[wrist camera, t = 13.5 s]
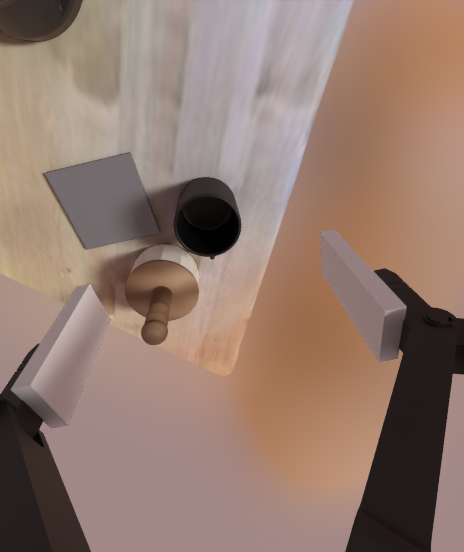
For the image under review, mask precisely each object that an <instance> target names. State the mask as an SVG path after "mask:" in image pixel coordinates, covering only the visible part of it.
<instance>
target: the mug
mask: <svg viewBox="0 0 464 552" xmlns="http://www.w3.org/2000/svg"><path fill="white" fill-rule="evenodd" d="M174 231H175V235H176V237H177V239H178V241H179V242H180V244H181V245H182V246H183V247H184V248H185V249H187V250H188V251H190V252H191V253H193V254H196V255H199V256H205V257H210V259H212V260H213V259H214V258H215V256H217V255H220V254H222V253H225V252H226V251H228V250H229V249H230V248H231V247H232V246H233V245H234V244H235V243H236V241H237V240H238V238H239V235H240V232H241V218H240V215H239V211H238V208H237V204H236V201H235V198H234V195H233V193H232V191H231V190H230V188H229V187H228V186H227V185H226V184H225V183H223V182H222V181H220V180H218V179H215V178H210V177H203V178H198V179H195V180H193V181H191V182H190V183H188V184H187V185H186V186H185V187H184V189H183V190H182V192H181V194H180V196H179V200H178V205H177V209H176V214H175V218H174Z"/></svg>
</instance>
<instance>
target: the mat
mask: <svg viewBox="0 0 464 552" xmlns="http://www.w3.org/2000/svg"><path fill="white" fill-rule="evenodd" d="M44 174H45V175H46V177H47V179H48V181H49V183H50V184H51V186H52V188H53V190H54V192H55V193H56V195H57V197H58V199H59V201H60V202H61V204H62V206H63V208H64V210H65V212H66V213H67V215H68V217H69V219H70V221H71V222H72V224H73V226H74V228H75V230H76V231H77V233H78V235H79V237H80V239H81V240H82V242H83V244H84V246H85V248H86V249H92V248H96V247H101V246H105V245H109V244H114V243H118V242H122V241H127V240H131V239H136V238H140V237H144V236H149V235H153V234H158V233H160V230H159V227H158V225H157V222H156V219H155V217H154V214H153V211H152V209H151V206H150V203H149V201H148V198H147V195H146V193H145V190H144V188H143V185H142V182H141V180H140V177H139V174H138V172H137V169H136V166H135V164H134V161H133V158H132V156H131V153H130V152H129V153H125V154H121V155H117V156H112V157H108V158H104V159H100V160H96V161H92V162H88V163H83V164H79V165H75V166H71V167H67V168H63V169H59V170H54V171H50V172H46V173H44Z"/></svg>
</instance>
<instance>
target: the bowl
mask: <svg viewBox="0 0 464 552" xmlns="http://www.w3.org/2000/svg"><path fill="white" fill-rule="evenodd" d="M152 260H168V261H173V262H176V263H178V264H180V265H182V266H184V267H185V268H187V269H188V270H189V271H190V272H191V273H192V274H193V275H194V277H195V279H196V281H197V284H198V283H199V274H198V269H197V265H196V262H195V260H194V259H193V257H192V256H191V255H190V254H189V253H188V252H187V251H185V250H184V249H182V248H180V247H178V246H175V245H170V244H159V245H154V246H151V247H149V248H147V249H146V250H144V251H143V252H142V253H141V254H140V255H139V257H138V258H137V259H136V260H135V263H134V265H133V268H132V270H131V272H132V271H133V270H134V269H135V268H136V267H137V266H139V265H140V264H142V263H145V262H148V261H152Z"/></svg>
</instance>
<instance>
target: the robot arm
mask: <svg viewBox="0 0 464 552" xmlns="http://www.w3.org/2000/svg"><path fill="white" fill-rule="evenodd" d="M81 4H82V0H0V33H2V34H5V35H8V36H11V37H14V38H18V39H22V40H27V41H45V40H49V39H52V38H55V37H57V36H59V35H60V34H62V33H63V32H64V31H66V30H67V29H68V28H69V27H70V25H71V24H72V23H73V21H74V20H75V18H76V16H77V14H78V12H79V10H80V7H81ZM320 236H321V261H322V262H321V263H322V275H323V276H324V278H325V279H326V281H327V283H328V284H329V286H330V287H331V289H332V290H333V292H334V294H335V295H336V296H337V298H338V300H339V301H340V303H341V304H342V306H343V308H344V309H345V311H346V312H347V314H348V315H349V317H350V318H351V320H352V321H353V323H354V324H355V326H356V328H357V329H358V331H359V332H360V334H361V335H362V337H363V339H364V340H365V342H366V343H367V345H368V346H369V348H370V349H371V351H372V352H373V354H374V356H375V357H376V359H377V360H378V362H383V361H388V360H393V359H397V358H398V354H399V349H400V350H401V351H402V352H403V356H402V360H401V363H400V367H399V370H398V374H397V378H396V381H395V385H394V388H393V392H392V395H391V399H390V403H389V406H388V409H387V414H386V417H385V420H384V423H383V427H382V431H381V434H380V438H379V441H378V445H377V448H376V452H375V455H374V459H373V462H372V466H371V470H370V473H369V477H368V480H367V484H366V487H365V491H364V494H363V498H362V501H361V504H360V507H359V509H358V511H357V514H356V517H355V520H354V524H353V527H352V531H351V534H350V538H349V541H348V544H347V548H346V551H345V552H431V539H432V531H433V523H434V515H435V507H436V500H437V491H438V484H439V476H440V468H441V461H442V453H443V445H444V437H445V429H446V422H447V421H446V420H447V414H448V406H449V398H450V390H451V383H452V375H453V374H464V319H461V318H456V317H455V316H454V315H453V314H451V313H449V312H448V311H446V310H443V309H439V308H432V307H430V306H429V305H428V304H427V303H426V302H425V301H424V300H423V299H422V298H421V297H420V296H419V295H418V294H417V293H415V292H414V291H413V290H412V289H411V288H409V286H408V285H407V284H406V283H405V282H403V280H402V279H401V278H400V277H399V276H398V275H397V274H395V273H393V272H392V271H389V270H387V269H380V270H375V271H373V270H372V269H371V268H370V267H369V266H368V265H367V264H366V263H365V262H364V260H362V258H361V257H360V256H359V255H358V254H357V253H356V252H355V251H354V250H353V249H352V248H351V247H350V246H349V245H348V244H347V242H345V240H344V239H343V238H342V237H341V236H340V235H339V234H338V233H337V232H336V231H335V230H329V231H325V232H321V233H320ZM110 321H111V319H110V317H109V316H108V314H107V312H106V311H105V309H104V307H103V306H102V304H101V302H100V301H99V299H98V297H97V295H96V294H95V292H94V290H93V289H92V287H91V285H90V284H87V285H83V286H78V287H76V289H75V290H74V292H73V293H72V295H71V296H70V298H69V299H68V301H67V303H66V304H65V306H64V307H63V309H62V310H61V312H60V313H59V315H58V317H57V318H56V320H55V321H54V323H53V324H52V326H51V327H50V329H49V331H48V332H47V334H46V335H45V337H44V339H43V340H42V341H41V343H40V344H37V345H36V346H35V347H34V348H33V349H32V350H31V351H30V352H29V353H28V354H27V355H26V357H25V358H24V360H23V361H22V364H20V366H19V368H18V369H17V372H15V373H14V375H13V376H12V378H11V379H10V381H9V382H8V384H7V385H6V387H5V388H4V390H3V391H2V393H1V394H0V552H91V551H90V549H89V546H88V543H87V541H86V538H85V536H84V533H83V531H82V528H81V526H80V523H79V521H78V518H77V516H76V513H75V511H74V508H73V506H72V503H71V501H70V499H69V496H68V493H67V491H66V489H65V486H64V483H63V481H62V478H61V476H60V473H59V471H58V469H57V466H56V464H55V461H54V459H53V457H52V454H51V451H50V449H49V446H48V444H47V441H46V439H45V436H44V434H43V433H42V432H41V431H40V430H39V428H40V426H41V424H42V422H43V421H44V422H45V423H46V424H47V425H48V426H49V427H50V428H56V427H60V426H65V425H68V424H69V422H70V420H71V417H72V415H73V412H74V410H75V407H76V405H77V402H78V400H79V397H80V395H81V392H82V390H83V387H84V385H85V383H86V380H87V378H88V375H89V372H90V370H91V367H92V365H93V363H94V360H95V358H96V355H97V353H98V350H99V348H100V345H101V343H102V340H103V338H104V335H105V333H106V330H107V328H108V325H109V323H110Z"/></svg>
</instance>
